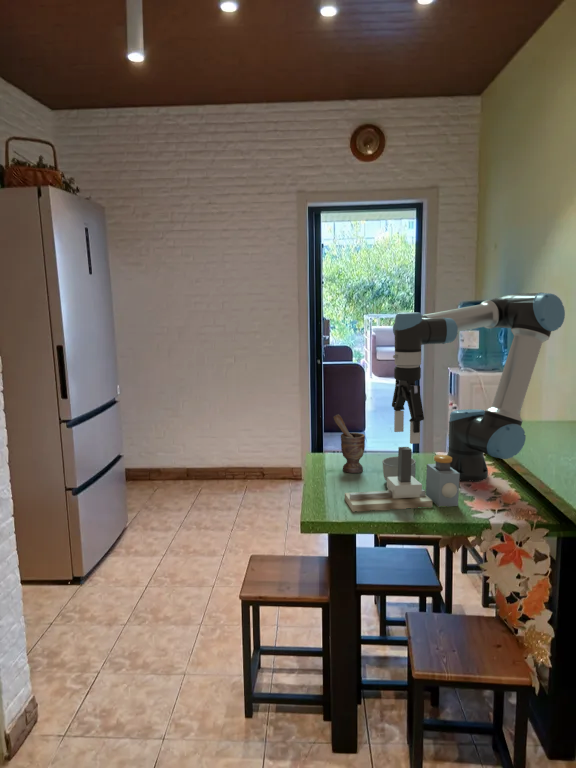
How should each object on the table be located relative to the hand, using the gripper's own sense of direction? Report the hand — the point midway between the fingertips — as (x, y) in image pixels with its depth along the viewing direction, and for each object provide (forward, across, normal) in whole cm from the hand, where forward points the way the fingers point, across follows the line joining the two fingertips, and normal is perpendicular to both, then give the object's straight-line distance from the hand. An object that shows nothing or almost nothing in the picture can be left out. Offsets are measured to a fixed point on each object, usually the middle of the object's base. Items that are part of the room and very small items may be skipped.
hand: (406, 437), depth 157 cm
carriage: (+18, 0, -1) cm, 18 cm away
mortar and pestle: (+20, -33, -10) cm, 40 cm away
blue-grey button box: (+20, 0, +11) cm, 23 cm away
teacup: (+20, -18, +4) cm, 27 cm away
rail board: (+20, 0, -6) cm, 21 cm away
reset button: (+14, 0, +11) cm, 18 cm away
